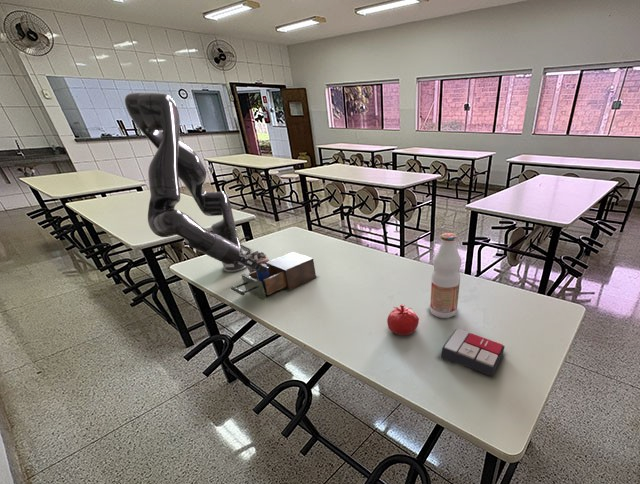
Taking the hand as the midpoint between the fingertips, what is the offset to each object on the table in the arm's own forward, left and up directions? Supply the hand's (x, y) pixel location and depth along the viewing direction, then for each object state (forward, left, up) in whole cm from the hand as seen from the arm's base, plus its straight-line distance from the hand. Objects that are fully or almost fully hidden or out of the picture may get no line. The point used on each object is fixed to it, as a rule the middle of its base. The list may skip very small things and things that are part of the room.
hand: (260, 268), depth 119 cm
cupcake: (-17, +2, -10) cm, 20 cm away
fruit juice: (+50, +48, -10) cm, 70 cm away
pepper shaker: (0, 0, -8) cm, 8 cm away
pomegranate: (+51, +30, -10) cm, 60 cm away
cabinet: (-5, +12, -10) cm, 17 cm away
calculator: (+73, +40, -10) cm, 84 cm away
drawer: (+1, -2, -9) cm, 9 cm away
